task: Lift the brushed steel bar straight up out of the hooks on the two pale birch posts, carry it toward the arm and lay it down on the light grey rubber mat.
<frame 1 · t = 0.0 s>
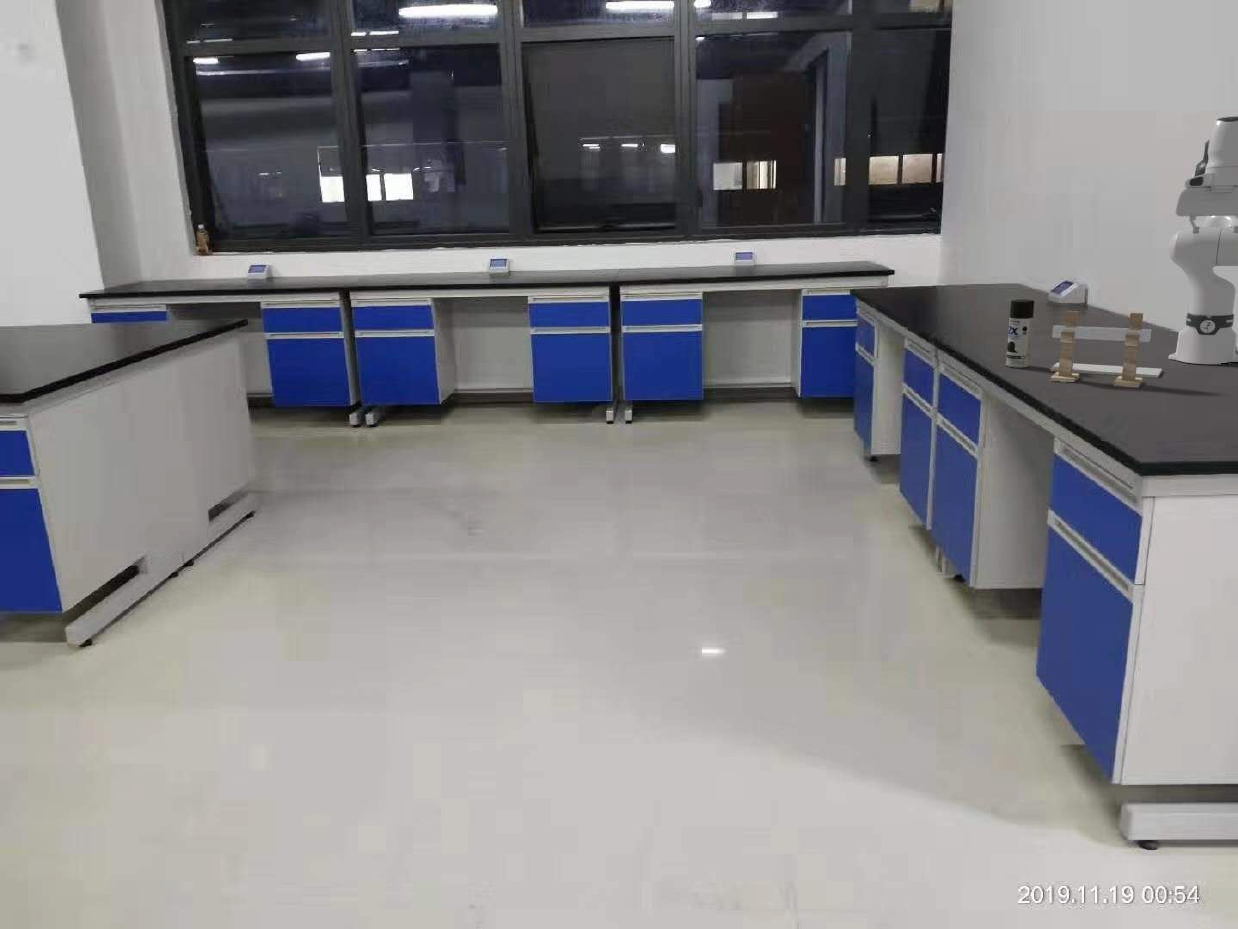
hand: (1215, 233, 255), 39 cm above the worktop, tool pointing down, fingers open, 8 cm apart
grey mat: (1105, 371, 277), on the worktop
hook post 2: (1127, 383, 260), on the worktop
hook post 1: (1064, 379, 269), on the worktop
steel bar: (1100, 338, 261), point 12 cm above the worktop, touching hook post 2, hook post 1
spray can: (1017, 366, 289), on the worktop
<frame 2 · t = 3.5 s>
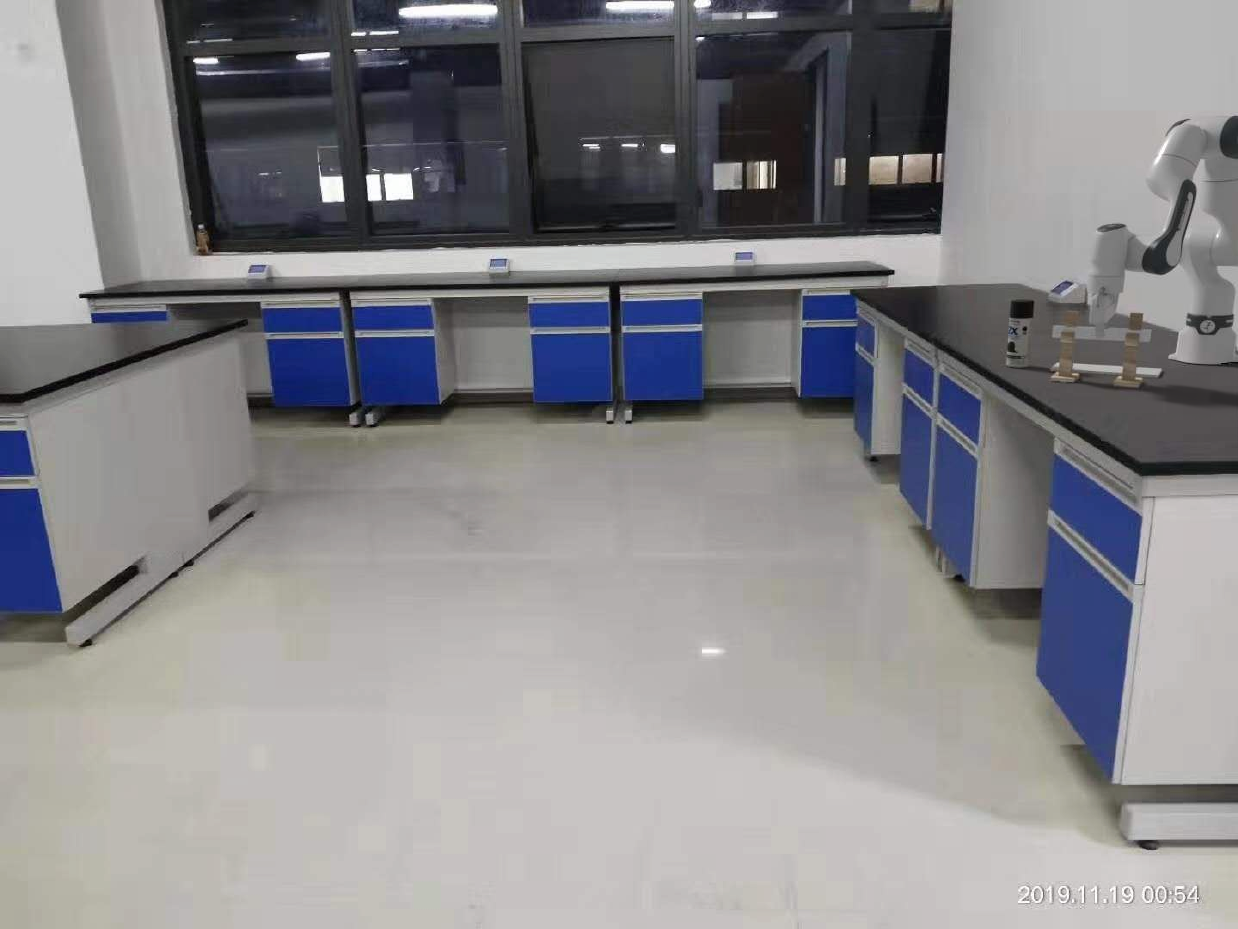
hand: (1100, 336, 261), 13 cm above the worktop, tool pointing down, fingers closed on steel bar, 3 cm apart
steel bar: (1100, 338, 261), point 12 cm above the worktop, touching gripper, hook post 2, hook post 1
everything else where it was.
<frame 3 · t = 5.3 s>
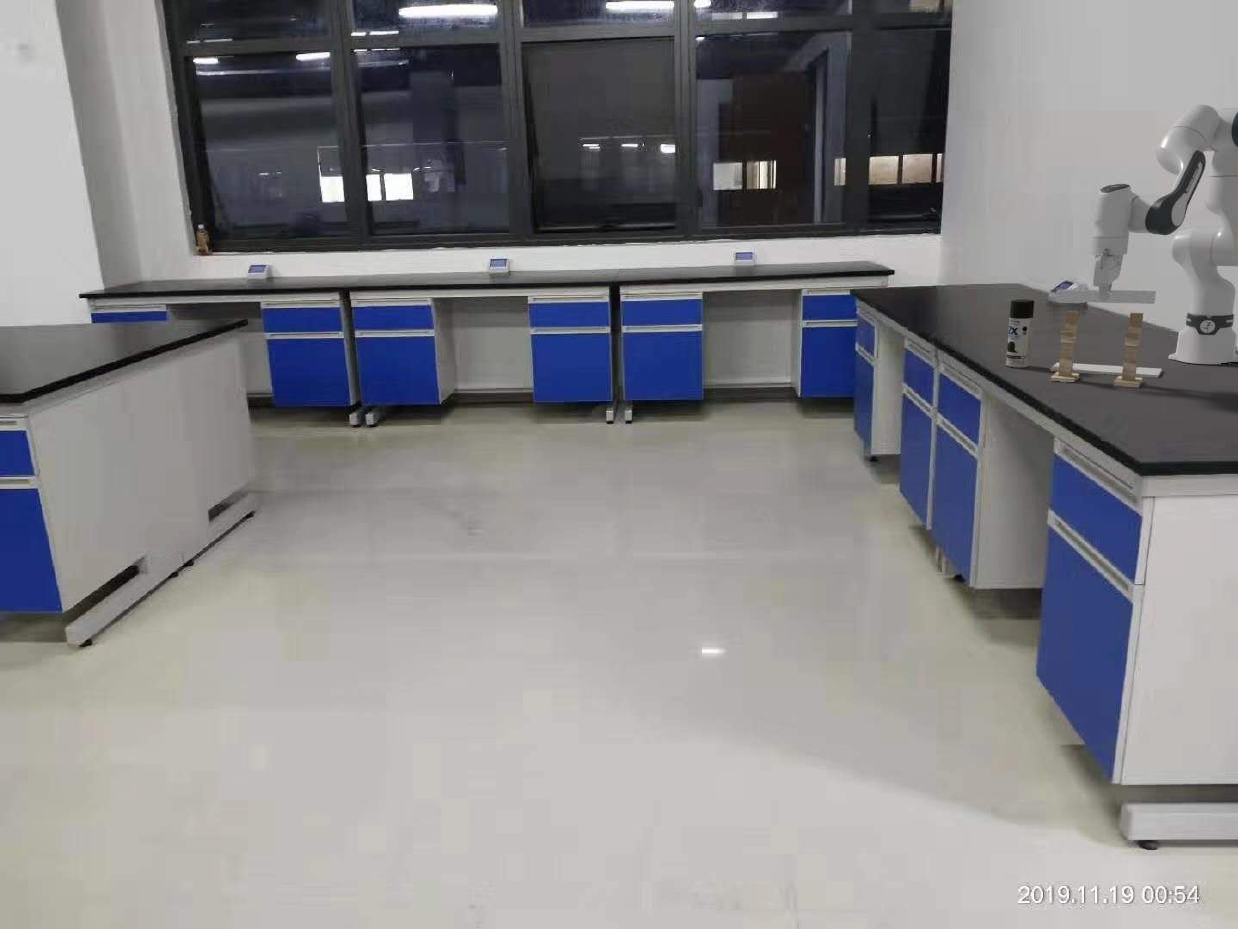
hand: (1104, 299, 258), 23 cm above the worktop, tool pointing down, fingers closed on steel bar, 3 cm apart
steel bar: (1104, 301, 258), point 22 cm above the worktop, touching gripper
everything else where it was.
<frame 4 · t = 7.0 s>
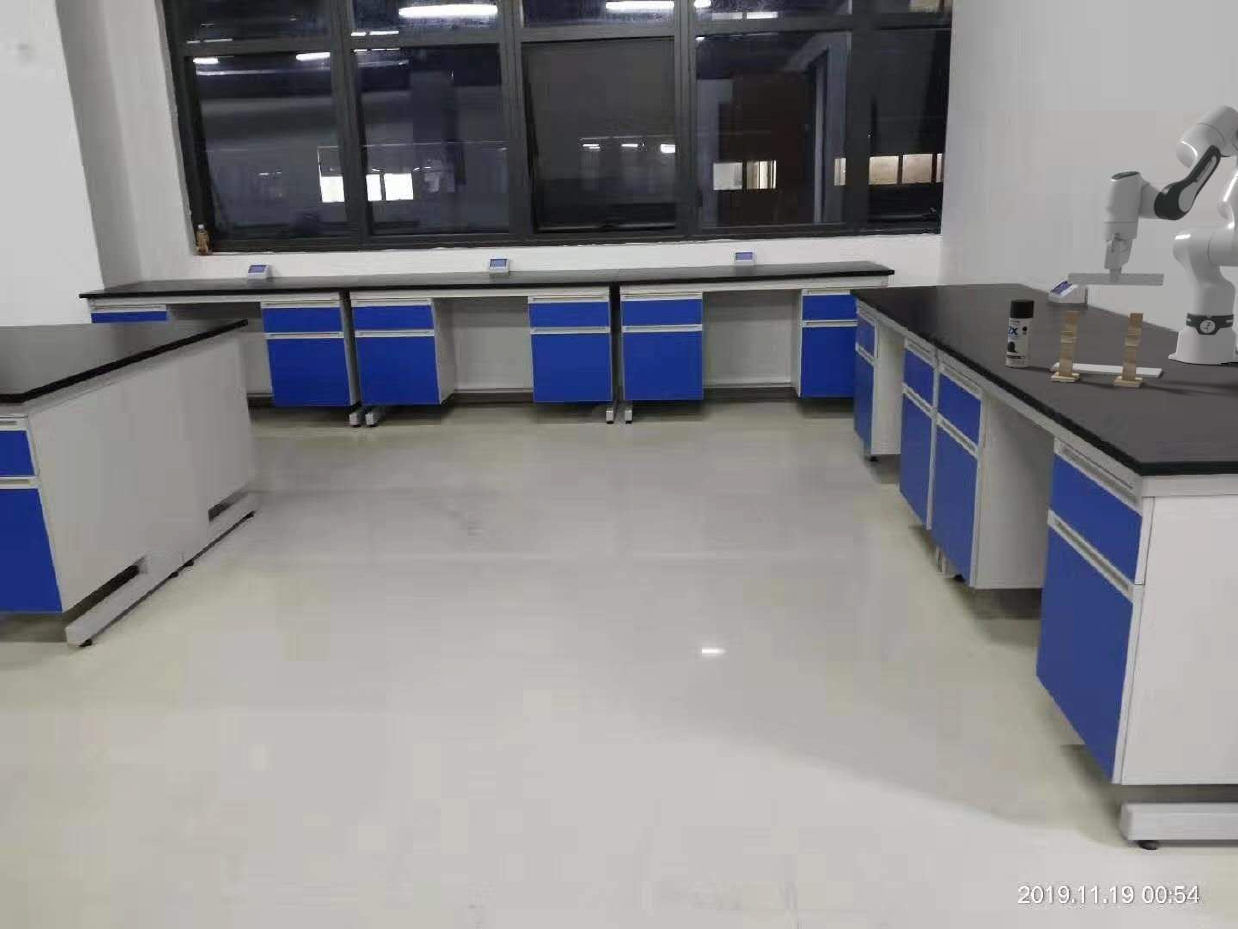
hand: (1114, 282, 269), 26 cm above the worktop, tool pointing down, fingers closed on steel bar, 3 cm apart
steel bar: (1114, 284, 270), point 25 cm above the worktop, touching gripper
everything else where it was.
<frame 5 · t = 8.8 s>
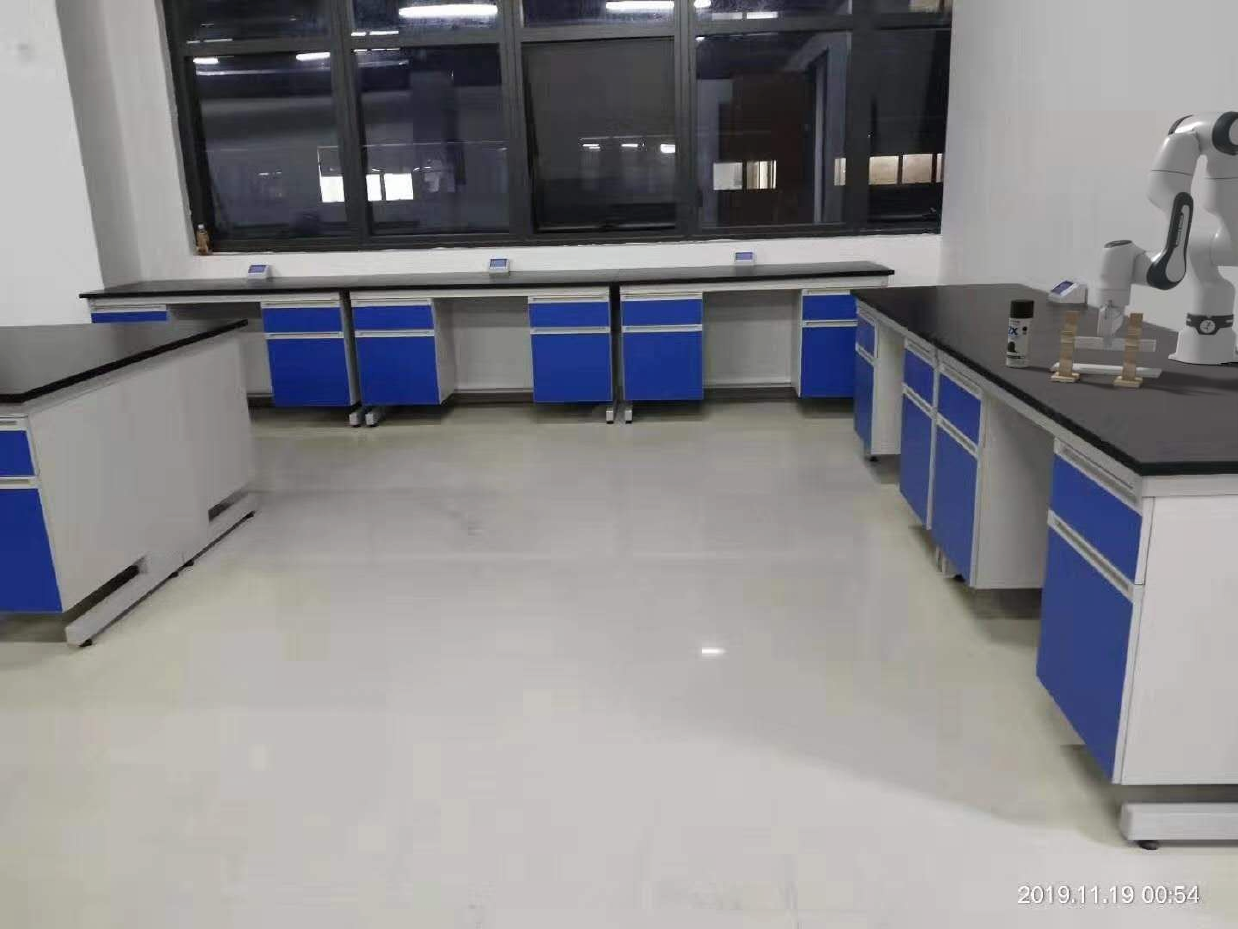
hand: (1107, 346, 275), 7 cm above the worktop, tool pointing down, fingers closed on steel bar, 3 cm apart
steel bar: (1107, 348, 275), point 7 cm above the worktop, touching gripper
everything else where it was.
when the fingers open (3 cm above the worktop, at t = 10.4 s): steel bar drops 1 cm, resting on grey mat.
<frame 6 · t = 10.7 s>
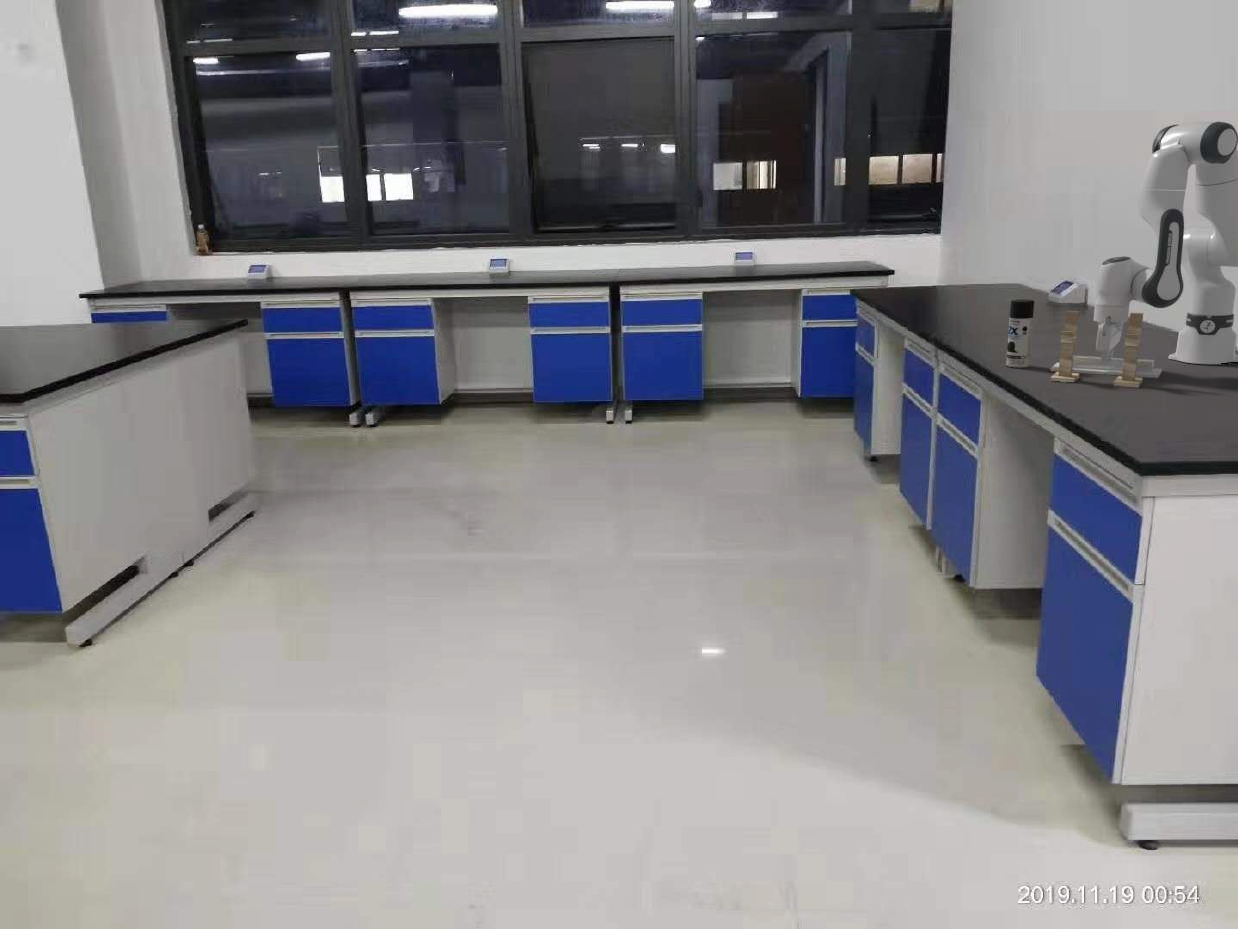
hand: (1106, 362, 276), 3 cm above the worktop, tool pointing down, fingers open, 5 cm apart
steel bar: (1105, 368, 277), point 1 cm above the worktop, touching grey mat
everything else where it was.
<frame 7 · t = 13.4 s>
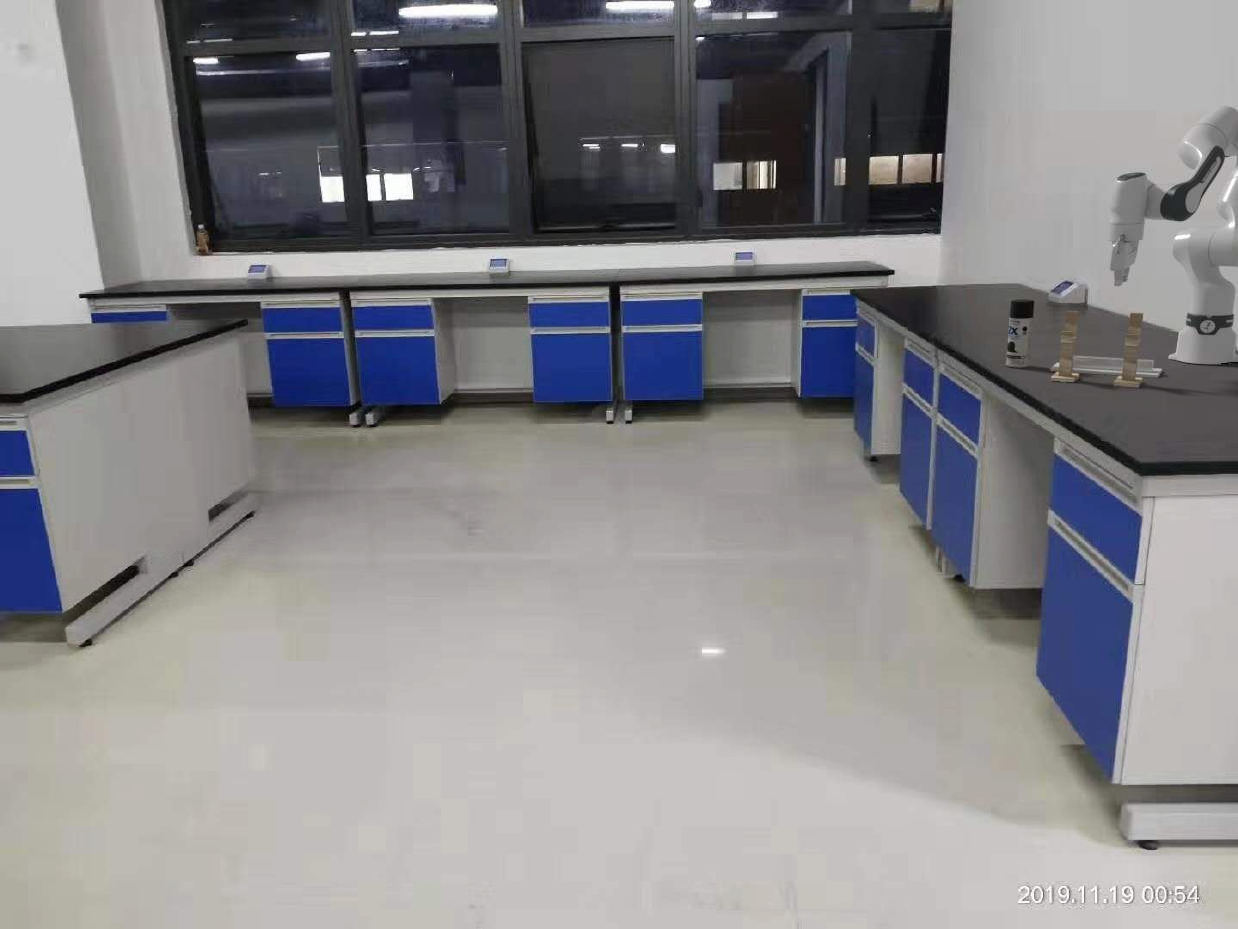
hand: (1120, 283, 268), 25 cm above the worktop, tool pointing down, fingers open, 8 cm apart
nothing on the worktop moved.
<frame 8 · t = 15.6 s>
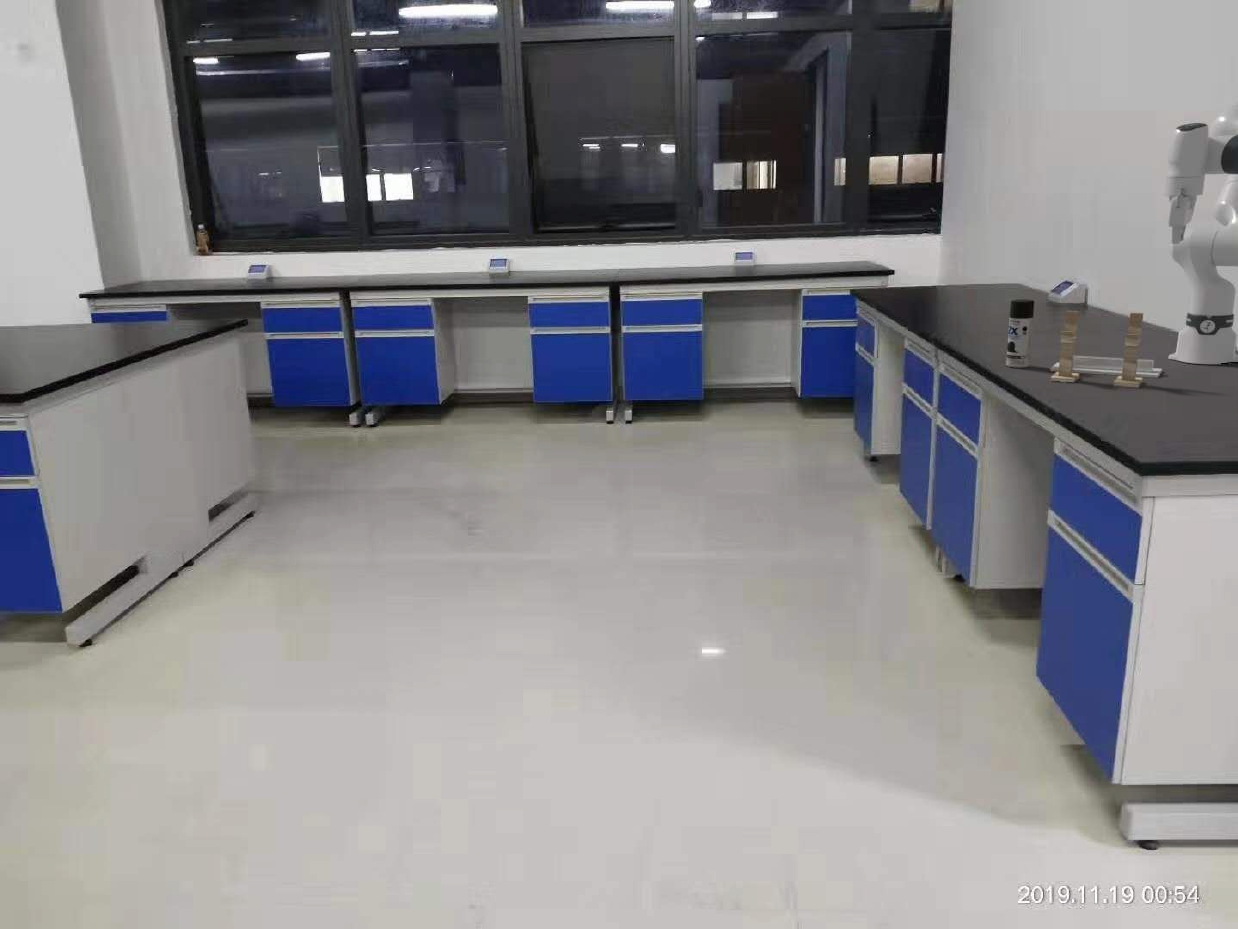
hand: (1177, 242, 253), 37 cm above the worktop, tool pointing down, fingers open, 8 cm apart
nothing on the worktop moved.
at the end: steel bar inside the target area (0.1 cm from its centre), point 0.8 cm above the worktop; steel bar touching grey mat; the gripper is holding nothing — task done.
